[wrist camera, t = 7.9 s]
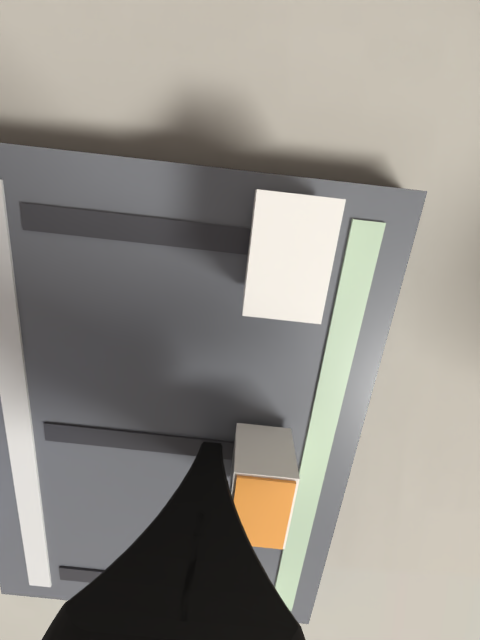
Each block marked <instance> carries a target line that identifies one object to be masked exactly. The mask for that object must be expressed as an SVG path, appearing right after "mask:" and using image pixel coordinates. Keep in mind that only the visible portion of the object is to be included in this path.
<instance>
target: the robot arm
mask: <svg viewBox="0 0 480 640" xmlns="http://www.w3.org/2000/svg"><path fill="white" fill-rule="evenodd" d="M222 447H223V446H222V445H221V443H212V442H203V443H202V444H201V446H200V449H199V451H198V454H197V456H196V458H195V460H194V462H193V464H192V465H191V467H190V469H189V471H188V472H187V474H186V476H185V477H184V479H183V481H182V482H181V484H180V485H179V487H178V488H177V490H176V491H175V492H174V494H173V495H172V497H171V498H170V500H169V501H168V502H167V504H166V505H165V506H164V508H163V509H162V510H161V512H160V513H159V514H158V515H157V517H156V518H155V519H154V520H153V521H152V523H151V524H150V525H149V526H148V527H147V528H146V529H145V531H144V532H143V533H142V534H141V535H140V536H139V537H138V538H137V539H136V540H135V541H134V542H133V544H132V545H131V546H130V547H129V548H128V549H127V550H126V551H125V552H124V553H123V554H121V555H120V556H119V557H118V558H117V559H116V560H115V561H114V562H113V563H112V564H111V565H110V566H109V567H108V568H106V569H105V570H104V571H103V572H102V573H101V574H100V575H99V576H98V577H96V578H95V579H94V580H93V581H92V582H90V583H89V584H88V585H87V586H86V587H84V588H83V589H82V590H81V591H79V592H78V593H77V594H76V595H74V596H73V597H72V598H71V599H70V600H68V601H67V602H66V603H65V604H64V605H63V606H62V608H61V609H60V611H59V612H58V614H57V615H56V617H55V618H54V620H53V622H52V623H51V625H50V627H49V628H48V630H47V631H46V633H45V635H44V637H43V639H42V640H305V637H304V634H303V632H302V629H301V626H300V624H299V623H298V622H297V620H296V619H295V617H294V616H293V614H292V613H291V612H290V610H289V609H288V607H287V606H286V604H285V603H284V601H283V600H282V598H281V597H280V595H279V593H278V592H277V590H276V589H275V587H274V585H273V584H272V582H271V581H270V579H269V577H268V575H267V573H266V572H265V570H264V568H263V566H262V564H261V563H260V561H259V559H258V557H257V555H256V553H255V551H254V549H253V547H252V545H251V543H250V541H249V539H248V537H247V534H246V532H245V530H244V528H243V525H242V523H241V520H240V518H239V515H238V512H237V510H236V507H235V504H234V501H233V498H232V495H231V491H230V488H229V484H228V481H227V477H226V472H225V467H224V462H223V452H222Z"/></svg>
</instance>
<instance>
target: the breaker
mask: <svg viewBox="0 0 480 640" xmlns="http://www.w3.org/2000/svg"><path fill="white" fill-rule="evenodd" d="M345 202H346V199H338V198H329V197H321V196H312V195H303V194H294V193H285V192H276V191H268V190H259V189H257V190H255V197H254V206H253V215H252V223H251V232H250V241H249V250H248V259H247V267H246V276H245V285H244V297H243V313H242V316H249V317H258V318H268V319H277V320H286V321H295V322H304V323H313V324H321V322H322V317H323V312H324V307H325V302H326V297H327V292H328V287H329V282H330V277H331V272H332V267H333V262H334V257H335V252H336V247H337V242H338V237H339V232H340V227H341V222H342V217H343V212H344V207H345Z"/></svg>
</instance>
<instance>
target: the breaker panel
mask: <svg viewBox="0 0 480 640" xmlns="http://www.w3.org/2000/svg"><path fill="white" fill-rule="evenodd" d="M257 189H259V190H268V191H276V192H285V193H294V194H303V195H312V196H321V197H329V198H338V199H346V202H345V207H344V212H343V217H342V222H341V227H340V232H339V237H338V242H337V247H336V252H335V257H334V262H333V267H332V272H331V277H330V282H329V287H328V292H327V297H326V302H325V307H324V312H323V317H322V322H321V324H313V323H304V322H295V321H286V320H277V319H268V318H258V317H249V316H242V313H243V297H244V285H245V276H246V267H247V259H248V250H249V241H250V232H251V223H252V215H253V206H254V197H255V190H257ZM426 194H427V191H420V190H411V189H402V188H394V187H385V186H376V185H367V184H359V183H350V182H341V181H332V180H324V179H315V178H306V177H297V176H288V175H280V174H271V173H262V172H253V171H245V170H236V169H227V168H218V167H209V166H201V165H192V164H183V163H174V162H166V161H157V160H148V159H139V158H131V157H122V156H113V155H104V154H95V153H87V152H78V151H69V150H60V149H52V148H43V147H34V146H25V145H16V144H8V143H0V587H1V592H2V594H9V595H19V596H29V597H40V598H50V599H60V600H70V599H71V598H72V597H73V596H74V595H76V594H77V593H78V592H79V591H81V590H82V589H83V588H84V587H86V586H87V585H88V584H89V583H90V582H92V581H93V580H94V579H95V578H96V577H98V576H99V575H100V574H101V573H102V572H103V571H104V570H105V569H106V568H108V567H109V566H110V565H111V564H112V563H113V562H114V561H115V560H116V559H117V558H118V557H119V556H120V555H121V554H123V553H124V552H125V551H126V550H127V549H128V548H129V547H130V546H131V545H132V544H133V542H134V541H135V540H136V539H137V538H138V537H139V536H140V535H141V534H142V533H143V532H144V531H145V529H146V528H147V527H148V526H149V525H150V524H151V523H152V521H153V520H154V519H155V518H156V517H157V515H158V514H159V513H160V512H161V510H162V509H163V508H164V506H165V505H166V504H167V502H168V501H169V500H170V498H171V497H172V495H173V494H174V492H175V491H176V490H177V488H178V487H179V485H180V484H181V482H182V481H183V479H184V477H185V476H186V474H187V472H188V471H189V469H190V467H191V465H192V464H193V462H194V460H195V458H196V456H197V454H198V451H199V449H200V446H201V444H202V443H203V442H212V443H221V445H222V446H223V447H222V452H223V462H224V467H225V472H226V477H227V481H228V484H229V482H230V474H231V465H232V457H233V449H234V441H235V433H236V425H237V423H244V424H253V425H263V426H272V427H282V428H291V432H292V437H293V443H294V449H295V455H296V460H297V466H298V472H299V477H300V480H299V485H298V490H297V494H296V499H295V504H294V508H293V513H292V518H291V523H290V527H289V532H288V537H287V541H286V546H285V549H273V548H263V547H253V546H252V547H253V549H254V551H255V553H256V555H257V557H258V559H259V561H260V563H261V564H262V566H263V568H264V570H265V572H266V573H267V575H268V577H269V579H270V581H271V582H272V584H273V585H274V587H275V589H276V590H277V592H278V593H279V595H280V597H281V598H282V600H283V601H284V603H285V604H286V606H287V607H288V609H289V610H290V612H291V613H292V614H293V616H294V617H295V619H296V620H297V622H298V623H303V624H309V620H310V617H311V613H312V609H313V606H314V602H315V599H316V595H317V591H318V588H319V584H320V580H321V577H322V573H323V569H324V566H325V562H326V558H327V555H328V551H329V548H330V544H331V540H332V537H333V533H334V529H335V526H336V522H337V518H338V515H339V511H340V507H341V504H342V500H343V497H344V493H345V489H346V486H347V482H348V478H349V475H350V471H351V467H352V464H353V460H354V456H355V453H356V449H357V446H358V442H359V438H360V435H361V431H362V427H363V424H364V420H365V416H366V413H367V409H368V405H369V402H370V398H371V395H372V391H373V387H374V384H375V380H376V376H377V373H378V369H379V365H380V362H381V358H382V354H383V351H384V347H385V344H386V340H387V336H388V333H389V329H390V325H391V322H392V318H393V314H394V311H395V307H396V303H397V300H398V296H399V293H400V289H401V285H402V282H403V278H404V274H405V271H406V267H407V263H408V260H409V256H410V252H411V249H412V245H413V242H414V238H415V234H416V231H417V227H418V223H419V220H420V216H421V212H422V209H423V205H424V201H425V198H426Z"/></svg>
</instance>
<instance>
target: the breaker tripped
mask: <svg viewBox="0 0 480 640" xmlns="http://www.w3.org/2000/svg"><path fill="white" fill-rule="evenodd" d="M299 480H300V477H299V472H298V466H297V460H296V455H295V449H294V443H293V437H292V432H291V428H282V427H272V426H263V425H253V424H244V423H237V425H236V433H235V441H234V449H233V457H232V465H231V474H230V482H229V488H230V491H231V495H232V498H233V501H234V504H235V507H236V510H237V512H238V515H239V518H240V520H241V523H242V525H243V528H244V530H245V532H246V534H247V537H248V539H249V541H250V543H251V545H252V546H253V547H263V548H273V549H285V546H286V541H287V537H288V532H289V527H290V523H291V518H292V513H293V508H294V504H295V499H296V494H297V490H298V485H299Z"/></svg>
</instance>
